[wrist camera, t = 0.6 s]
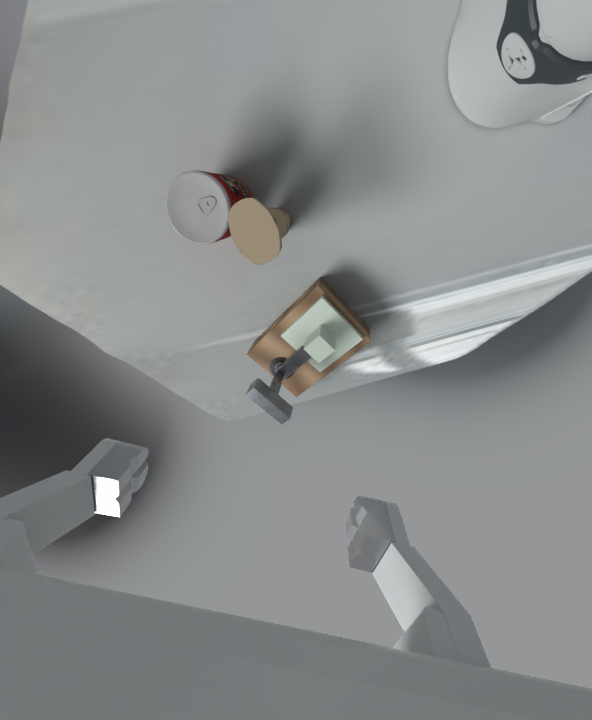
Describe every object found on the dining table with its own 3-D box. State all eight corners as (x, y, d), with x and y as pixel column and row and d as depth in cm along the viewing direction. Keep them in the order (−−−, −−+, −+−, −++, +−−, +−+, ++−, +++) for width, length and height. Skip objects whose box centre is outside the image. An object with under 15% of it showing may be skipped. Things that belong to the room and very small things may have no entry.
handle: (277, 249, 45) (251, 271, 32) (256, 208, 42) (218, 214, 29) (305, 234, 43) (288, 250, 30) (284, 190, 41) (257, 188, 28)
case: (320, 277, 46) (317, 285, 42) (368, 328, 49) (371, 341, 45) (254, 341, 54) (246, 354, 49) (300, 381, 57) (296, 397, 52)
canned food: (265, 207, 42) (243, 211, 33) (231, 245, 46) (201, 259, 36) (227, 161, 40) (191, 151, 31) (194, 205, 43) (152, 208, 34)
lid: (322, 295, 42) (320, 307, 38) (362, 336, 45) (364, 351, 40) (282, 333, 46) (275, 347, 42) (320, 368, 49) (318, 386, 44)
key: (292, 331, 46) (280, 364, 37) (322, 360, 48) (318, 398, 39) (260, 361, 49) (242, 397, 40) (289, 386, 51) (278, 426, 42)
